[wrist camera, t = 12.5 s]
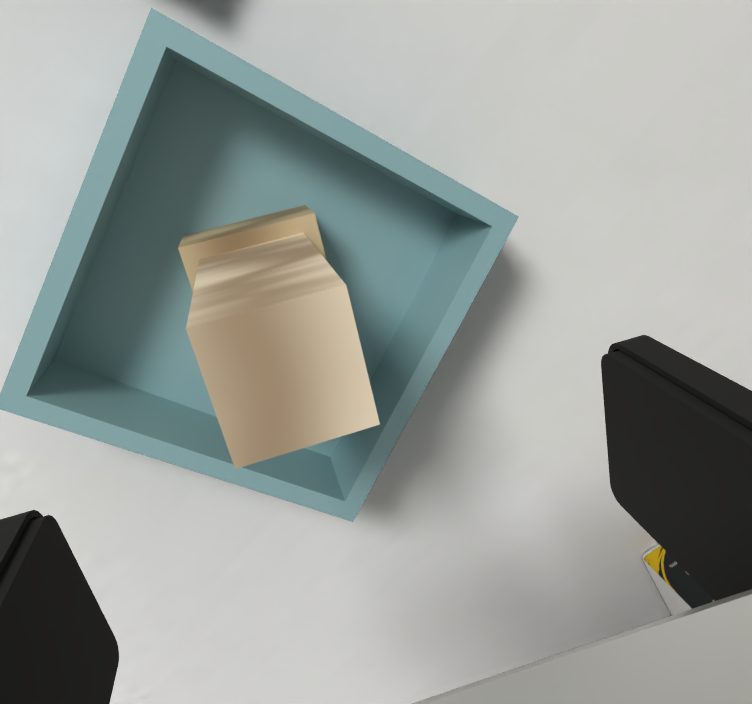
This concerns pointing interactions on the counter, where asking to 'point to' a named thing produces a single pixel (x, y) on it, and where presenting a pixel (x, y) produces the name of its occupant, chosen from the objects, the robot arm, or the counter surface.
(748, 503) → the robot arm
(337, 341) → the strut
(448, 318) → the bin
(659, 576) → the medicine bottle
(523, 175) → the counter surface
